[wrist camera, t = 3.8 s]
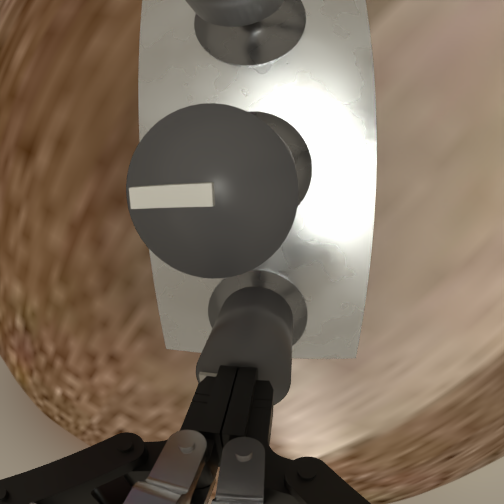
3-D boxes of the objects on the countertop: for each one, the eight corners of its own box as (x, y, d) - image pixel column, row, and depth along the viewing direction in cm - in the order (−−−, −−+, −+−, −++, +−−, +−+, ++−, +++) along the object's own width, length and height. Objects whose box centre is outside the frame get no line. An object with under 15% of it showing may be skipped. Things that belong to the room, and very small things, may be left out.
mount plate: (350, 6, 14) (362, -24, 10) (347, 324, 21) (356, 360, 17) (168, 16, 16) (141, -7, 12) (184, 318, 23) (165, 350, 19)
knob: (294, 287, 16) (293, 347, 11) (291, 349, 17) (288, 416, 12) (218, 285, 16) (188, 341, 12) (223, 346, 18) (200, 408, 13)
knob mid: (295, 120, 10) (297, 97, 6) (296, 226, 12) (297, 284, 7) (188, 125, 11) (117, 115, 6) (194, 226, 12) (133, 278, 7)
